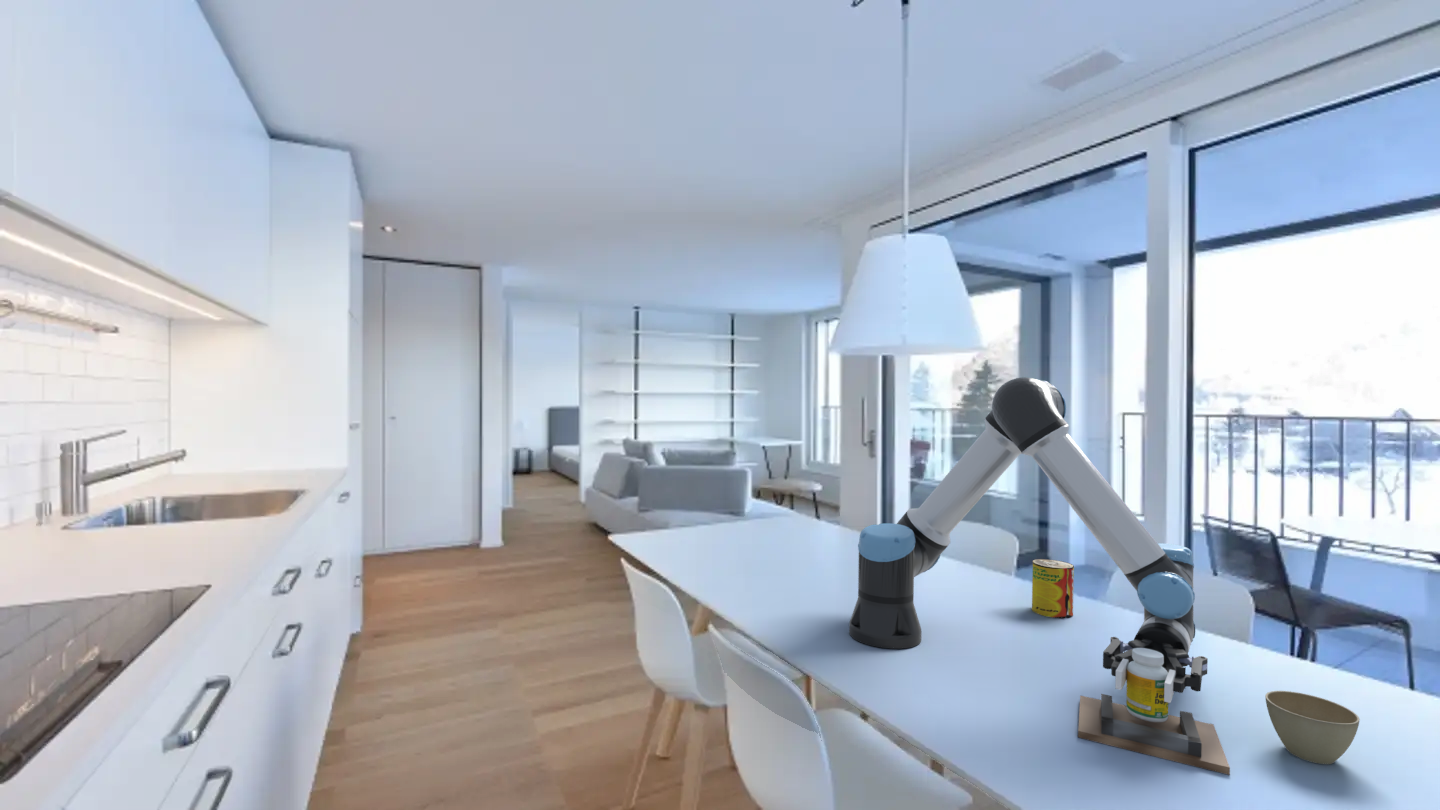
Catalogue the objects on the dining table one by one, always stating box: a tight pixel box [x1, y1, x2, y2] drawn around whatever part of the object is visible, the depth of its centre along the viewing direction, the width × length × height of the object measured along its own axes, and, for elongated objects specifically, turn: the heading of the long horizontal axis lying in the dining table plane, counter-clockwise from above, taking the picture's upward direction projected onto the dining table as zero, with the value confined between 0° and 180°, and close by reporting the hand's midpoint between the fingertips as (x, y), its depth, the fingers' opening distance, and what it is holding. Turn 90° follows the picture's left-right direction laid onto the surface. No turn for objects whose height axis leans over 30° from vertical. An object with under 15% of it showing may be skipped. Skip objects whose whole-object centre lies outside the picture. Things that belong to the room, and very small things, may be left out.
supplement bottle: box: [1125, 648, 1169, 722], centre depth 97 cm, size 5×5×10 cm
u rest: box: [1077, 693, 1231, 776], centre depth 97 cm, size 18×14×3 cm
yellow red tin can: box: [1031, 558, 1075, 619], centre depth 156 cm, size 9×9×12 cm
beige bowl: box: [1265, 690, 1361, 765], centre depth 92 cm, size 10×10×7 cm
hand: (1142, 686), depth 93 cm, fingers closed on supplement bottle, 5 cm apart
